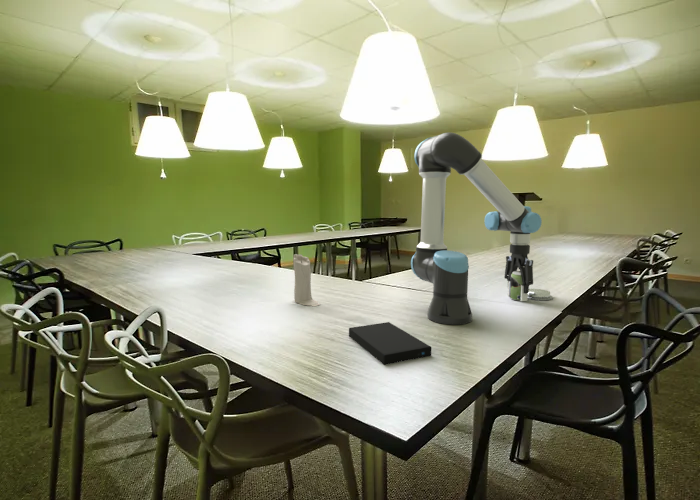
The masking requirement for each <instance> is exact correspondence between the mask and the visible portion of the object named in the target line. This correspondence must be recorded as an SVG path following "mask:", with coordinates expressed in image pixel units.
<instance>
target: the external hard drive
mask: <svg viewBox="0 0 700 500" xmlns="http://www.w3.org/2000/svg"><path fill="white" fill-rule="evenodd" d="M348 337H349V338H350V339H352V340H353V341H354V342H355V343H356V344H358V345H359V346H360V347H361V348H363V349H364V350H365V351H366V352H368V353H369V354H370V355H372V357H374V358H375V359H376V360H377V361H378V362H380V363H381V364H382V365H383V366H387V365H392V364H397V363H402V362H406V361H407V362H408V361H412V360H418V359H421V358H428V357H431V356H432V346H430V345H429V344H427V343H425V342H424V341H422V340H421V339H418V338H417V337H415V336H413V335H411V334H410V333H408V332H407V331H405V330H403V329H402V328H400V327H398V326H396V325H394V324H392V322H390V321H387V322H381V323H374V324H373V323H372V324H367V325H359V326H353V327H349V328H348Z"/></svg>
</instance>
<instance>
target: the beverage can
mask: <svg viewBox="0 0 700 500" xmlns="http://www.w3.org/2000/svg"><path fill="white" fill-rule="evenodd" d="M521 284H523V283H522V277H521V273H520V270H517V271H513V272H512V274H511V279H510V295H509V296H510V297H509V296H508V297H509V298H510V299H512V300H513V301H518V302H519V301H520V300H521ZM520 302H521V301H520Z"/></svg>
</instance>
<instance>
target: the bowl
mask: <svg viewBox="0 0 700 500" xmlns="http://www.w3.org/2000/svg"><path fill="white" fill-rule="evenodd" d="M527 300H531V301H541V302H543V301H545V302H546V301H551V300H553V296H552V295H551V292H550V291H549V290H546V289H541V288H529V292H528V298H527Z"/></svg>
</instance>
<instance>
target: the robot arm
mask: <svg viewBox="0 0 700 500" xmlns="http://www.w3.org/2000/svg"><path fill="white" fill-rule="evenodd" d="M413 157H414V158H413V159H414V162H415V164H416V165H417V167H418V174H419V176H420V177H421V179H422V190H421V191H422V193H421V194H422V196H421V220H420V223H421V224H420V241H419V242H418V244H417V245H416V246H415V247H416V248H415V253H414V254H413V255H412V257H411V259H410V267H411V271H412V273H413V274H414V275H415V276H416V277H417V278H419V280H422V281H423V282H426V283H427V282H428V283H431V284H432V285H433V286H432V288H433V291H432V294H433V295H432V299H431V302H430V304H429V308H428V309H427V318H428V319H429V320H430V321H432V322H434V323H438V324H443V325H457V326H458V325H466V324H468V323H471V322H472V321H473V313H472V309H471V306H470V303H469V298H468V291H469V290H468V286H469V285H468V284H469V283H468V282H469V281H468V280H469V269H470V266H469V259H468V256H467V255H466V254H465V253H462V252H460V251H454V250H448V246H447V245H446V244H445V243H444V242H445V241H444V239H445V238H444V237H445V236H444V234H445V219H446V218H445V214H446V213H445V212H446V192H447V191H446V190H447V178H449V176H451V174H452V169H454V170H455V172H456V173H458V174H459V175H462V176H463V175H464V176H465V177H466V178H467V179H468V181H469V182H471V184H472V185H473V186H474V187H475V188H476V189H477V190H478V191H479V192H480V193H481V194H482V195H483V196H484V198H485V199H486V200H487V201H488V202H489V203H490V204H491V205H492V206H493V207H494V208H495V209H496V210H497V211H495V210H494V211H488V213H486V214H485V216H484V226H485V229H486V230H488V231H494V232H496V231H504V232H510V234H509V236H510V237H509V242H510V245H509V253H510V254H511V255H506V256H505V261H506V262H505V267H504V268H505V270H504V280H505V279H506V281H507V297H509V298H510V296H509V295H510V279H511V274H512V272H513V271H518V270H519V271H520V273H521V277H522V283H523V284H521V300H520V302H528V299H527V298H528V292H529V289H530V288H529V287H530V286H532V285H534V269H533V266H534V260H533V259H529V257H528V255H529V254H530V252H531V251H530V250H531V245H530V243H531V234H534V233H537V232H538V231H539V230H540V228H541V227H542V218H541V215H540V214H538V213H536V212H533V211H532V207H530V206H529V205H526V206H525V205H523V203H521V202H520V201H519V200H518V198H517V197H516V196H515V194H514V193H513V192H511V190H510V189H509V188H508V187H507V186H506V185H505V183H504V182H503V181H502V180H501V179H500V178H499V176H498V175H496V174H495V172H493V170H492V169H491V168H490V166H488V164H487V163H486V162H485V161H484V160H483V159H482V158H483V154H482V152H480V151H479V150H478V148H476V146H475V145H473V144H472V142H470V141H469V140H468V139H467V138H466V137H464V136H462V135H460V134H458V133H456V132H455V133H454V132H447V131H446V132H443V133H440V134H438V135H434V136H429V137H427V138H426V139H424V140H423V141H421V142H420V143H419V144H417V146H416V148H415V151H414V156H413Z"/></svg>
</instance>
